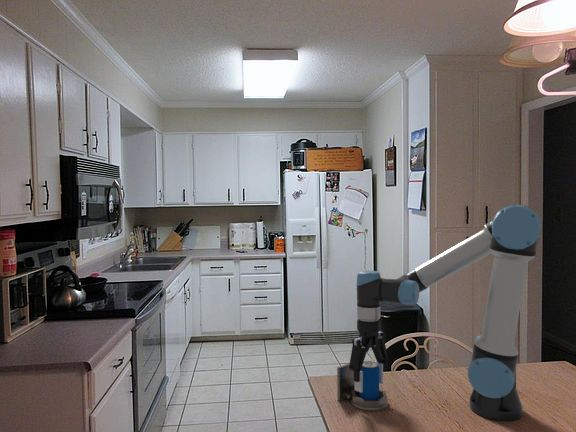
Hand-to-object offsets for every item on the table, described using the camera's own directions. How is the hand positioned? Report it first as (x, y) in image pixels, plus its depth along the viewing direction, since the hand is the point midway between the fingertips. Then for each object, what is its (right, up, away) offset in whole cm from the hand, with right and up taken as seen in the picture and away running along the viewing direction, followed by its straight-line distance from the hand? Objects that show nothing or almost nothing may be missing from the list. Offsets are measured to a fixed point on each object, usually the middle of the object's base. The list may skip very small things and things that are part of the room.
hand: (369, 386), depth 148 cm
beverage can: (0, -5, 0) cm, 5 cm away
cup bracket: (-1, -5, +1) cm, 6 cm away
